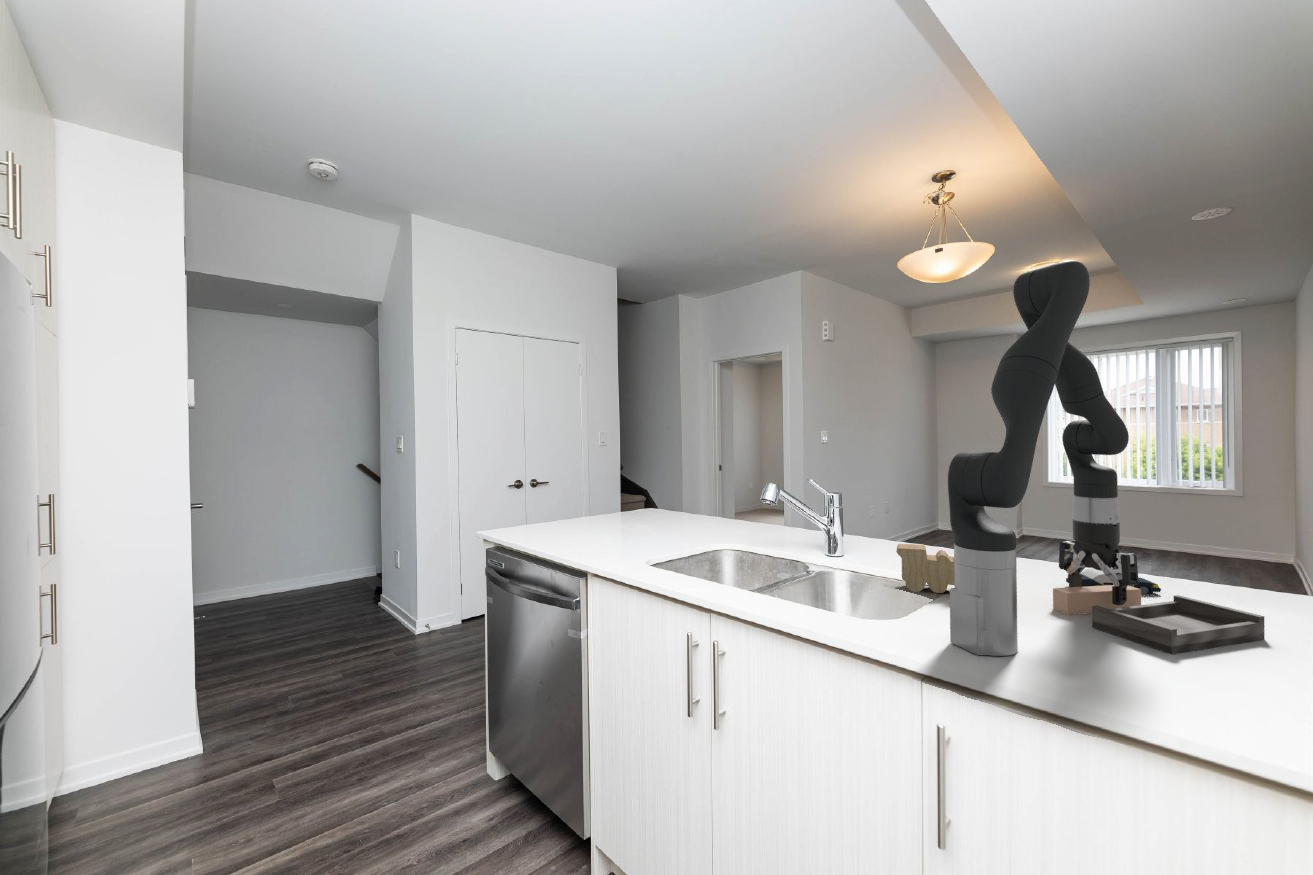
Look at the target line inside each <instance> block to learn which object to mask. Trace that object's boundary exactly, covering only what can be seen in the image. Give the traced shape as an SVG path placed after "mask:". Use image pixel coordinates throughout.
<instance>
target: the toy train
mask: <svg viewBox="0 0 1313 875" xmlns="http://www.w3.org/2000/svg"><path fill="white" fill-rule="evenodd" d="M896 553H897V555H898V556H899V557H900V558H901V579H902V581H904V582H905V586H906V588H907V590H909V591H911V592H912V593H919V592H922V590H924V589H925V588H926V585H927V586H928V587H929V589H930V590H931V591H932V592H934V593H936V594H942V593H944V592H946V590H948V587H949V586H953V587H955V579H954V556H951V555H949V554H948V553H947V552H946V551H945V550H943V549H939V550H938V551H937V552H936V554H935V555H934V554H928V553H927V547H926V545H925V544H916V543H915V544H913V543H911V544H910V543H898V544H897V546H896Z"/></svg>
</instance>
